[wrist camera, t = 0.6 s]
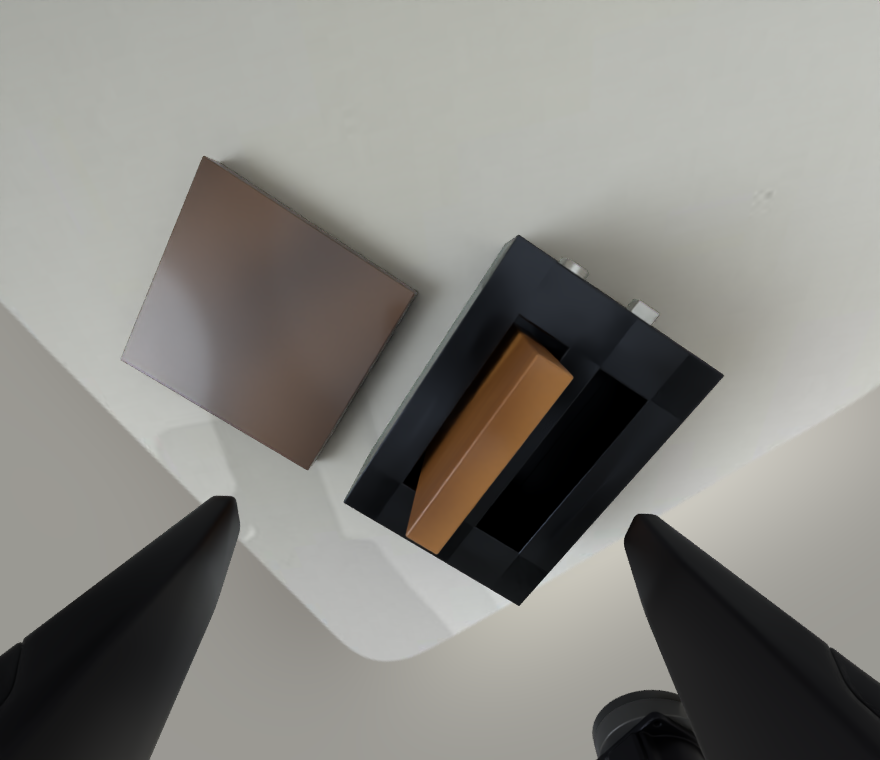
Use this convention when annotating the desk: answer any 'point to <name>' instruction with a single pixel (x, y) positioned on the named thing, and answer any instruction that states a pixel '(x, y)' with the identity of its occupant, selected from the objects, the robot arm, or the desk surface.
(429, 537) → the toast
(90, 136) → the desk surface
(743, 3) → the desk surface
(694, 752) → the robot arm
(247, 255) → the board
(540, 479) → the toaster
